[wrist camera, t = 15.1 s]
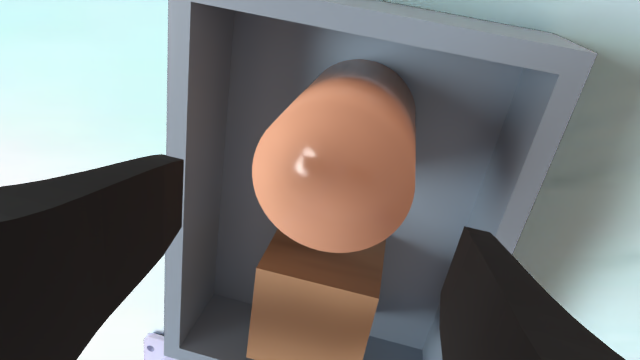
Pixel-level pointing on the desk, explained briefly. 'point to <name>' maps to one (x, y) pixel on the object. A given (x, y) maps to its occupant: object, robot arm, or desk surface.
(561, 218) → the desk surface
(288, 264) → the walnut cube
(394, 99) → the terracotta cylinder
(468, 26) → the tote
